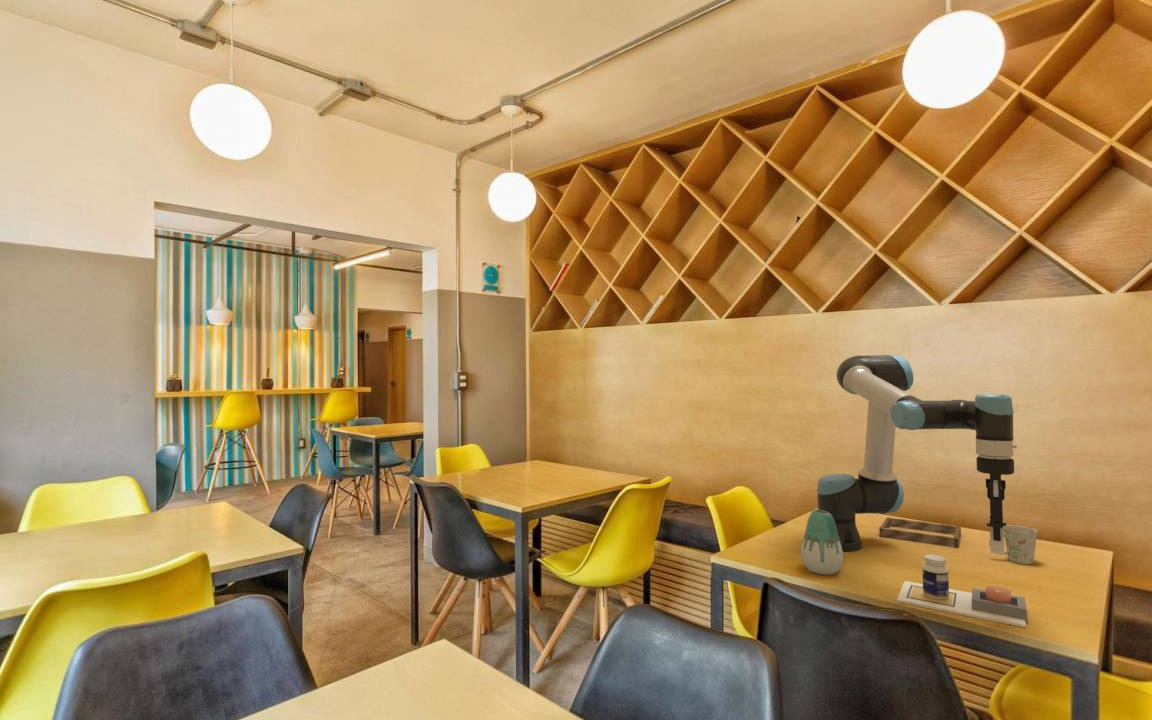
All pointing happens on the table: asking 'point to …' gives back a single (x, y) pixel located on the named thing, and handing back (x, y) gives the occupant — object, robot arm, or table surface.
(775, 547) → the table surface
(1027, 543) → the mug
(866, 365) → the robot arm
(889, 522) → the book tray
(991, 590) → the button
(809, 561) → the vase
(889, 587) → the table surface
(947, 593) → the pill bottle
